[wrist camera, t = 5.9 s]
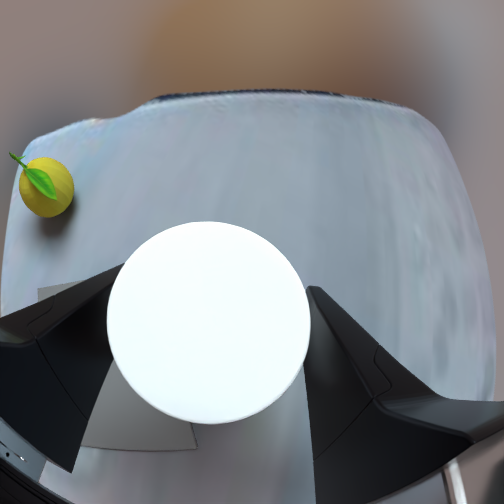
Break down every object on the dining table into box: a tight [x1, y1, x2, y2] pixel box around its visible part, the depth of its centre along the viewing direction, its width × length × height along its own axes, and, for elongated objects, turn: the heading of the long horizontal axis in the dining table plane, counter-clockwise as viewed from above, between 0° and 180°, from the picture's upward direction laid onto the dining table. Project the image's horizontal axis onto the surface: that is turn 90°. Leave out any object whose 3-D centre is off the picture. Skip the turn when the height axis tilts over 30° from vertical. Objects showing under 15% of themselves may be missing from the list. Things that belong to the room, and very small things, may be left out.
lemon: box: [9, 153, 74, 218], centre depth 19 cm, size 7×6×10 cm
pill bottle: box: [107, 222, 310, 424], centre depth 10 cm, size 6×6×10 cm
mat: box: [38, 280, 198, 451], centre depth 19 cm, size 16×14×1 cm
